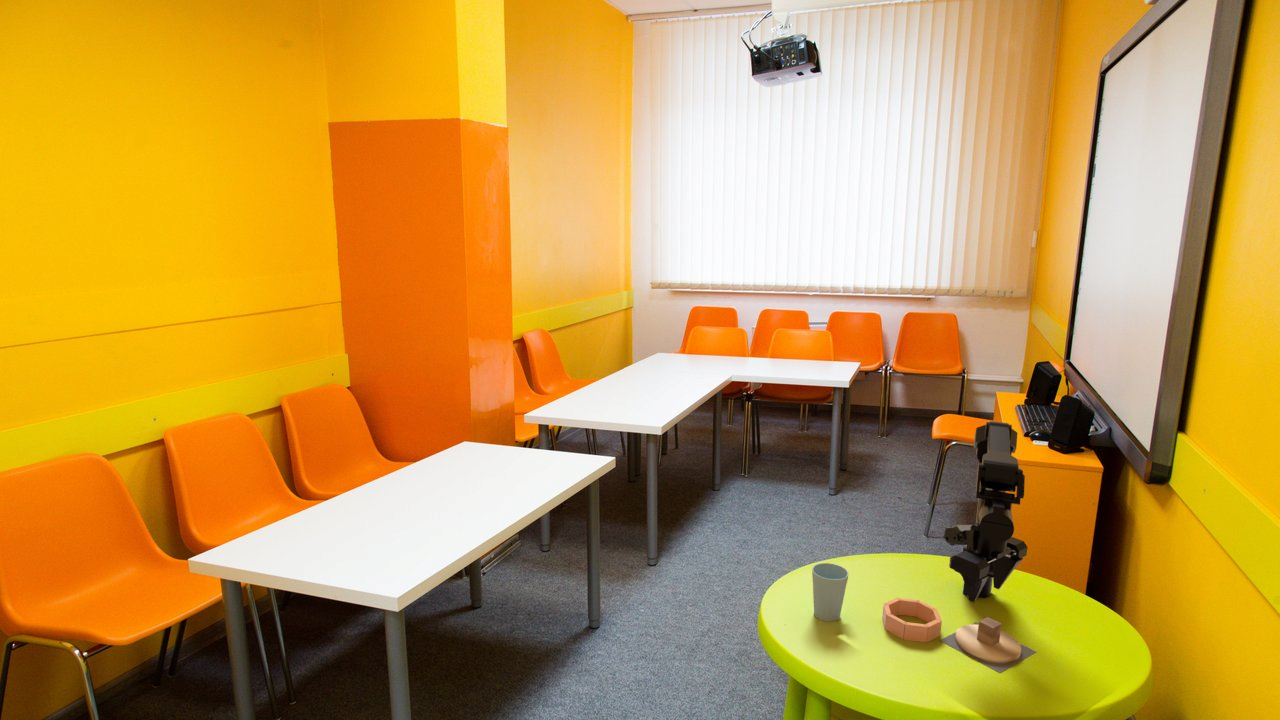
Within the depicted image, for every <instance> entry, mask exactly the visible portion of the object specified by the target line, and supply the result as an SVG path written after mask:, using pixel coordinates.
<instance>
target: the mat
mask: <svg viewBox="0 0 1280 720" xmlns="http://www.w3.org/2000/svg"><path fill="white" fill-rule="evenodd" d="M972 624H976V625H979V622H977V621H975V622H973V623H971V624H970V625H972ZM955 637H956V631H954V632H953V633H951V634H948V635H947V636H945V637H943V638H941V639H939V641H940V642H941V643H943V644H945V645H947V646H948V647H950V648H952V649H954V650H956V651H957V652H960V653H962V654H964V655H965V656H968V657H969V658H971V659H973V660H975V661H977V662H978V663H980V664H982V665H983V666H985V667H987V668H989V669H991V670H993V671H995V672H996V673H999V674H1001V673H1003V672H1005V671H1006V670H1008V669H1010V668H1012V667H1014V666H1015V665H1017V664H1018V663H1020V662H1022V661H1023V660H1025V659H1027V658H1028V657H1031V656H1032V655H1034V654H1035V653H1037V651H1036V650H1033V649H1031V647H1030V648H1029V647H1028V646H1025V645H1023V644H1022V643H1019V644H1020V646H1021V654H1020V658H1019V659H1018V660H1017V661H1015V662H1012V663H1006V664H998V663H991V662H986V661H983V660H980V659H977V658H975V657H973V656H971V655H969V654H967V653H966V652H964V651H963V650H962V649H961V648H960V647H959V646H958V645H957V643H956V641H955Z"/></svg>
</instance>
